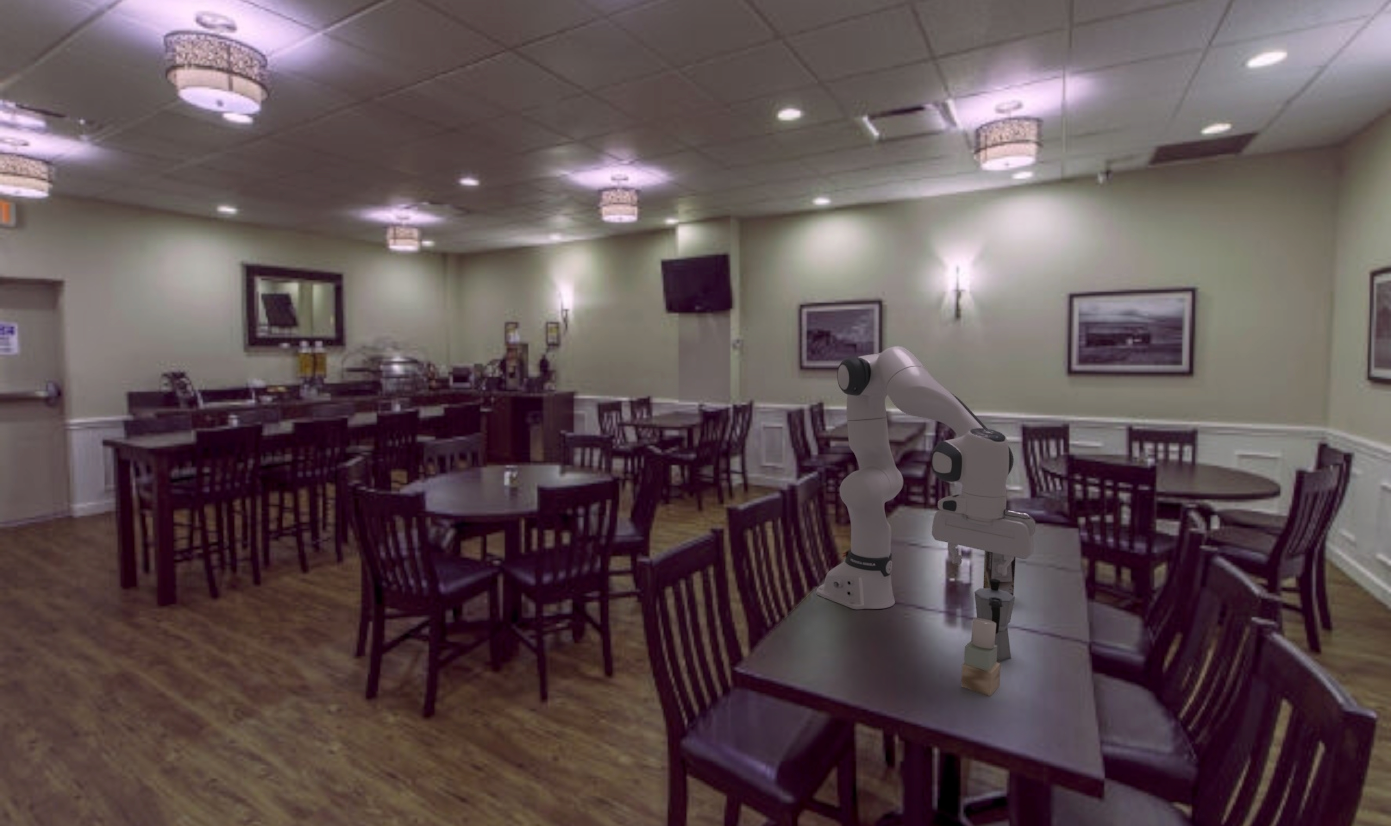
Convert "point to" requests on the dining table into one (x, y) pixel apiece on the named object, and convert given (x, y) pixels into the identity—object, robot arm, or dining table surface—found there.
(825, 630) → the dining table surface
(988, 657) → the tower top
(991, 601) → the coffee maker
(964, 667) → the tower base
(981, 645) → the grey rounded cylinder
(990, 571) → the coffee box
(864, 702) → the dining table surface
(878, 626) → the dining table surface
